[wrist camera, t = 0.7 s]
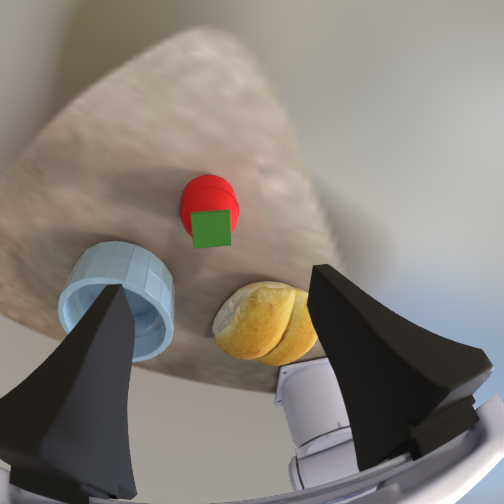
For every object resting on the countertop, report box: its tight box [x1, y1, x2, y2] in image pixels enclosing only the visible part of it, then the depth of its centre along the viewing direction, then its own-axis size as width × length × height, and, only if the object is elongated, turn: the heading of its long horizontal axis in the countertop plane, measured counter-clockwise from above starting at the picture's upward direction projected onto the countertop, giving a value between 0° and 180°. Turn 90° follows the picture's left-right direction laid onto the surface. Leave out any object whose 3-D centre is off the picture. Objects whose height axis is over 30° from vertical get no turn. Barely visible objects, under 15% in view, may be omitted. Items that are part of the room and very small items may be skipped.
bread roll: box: [212, 281, 318, 366], centre depth 23 cm, size 8×9×4 cm
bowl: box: [57, 241, 175, 362], centre depth 19 cm, size 8×8×4 cm
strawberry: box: [180, 175, 239, 248], centre depth 17 cm, size 3×3×4 cm
